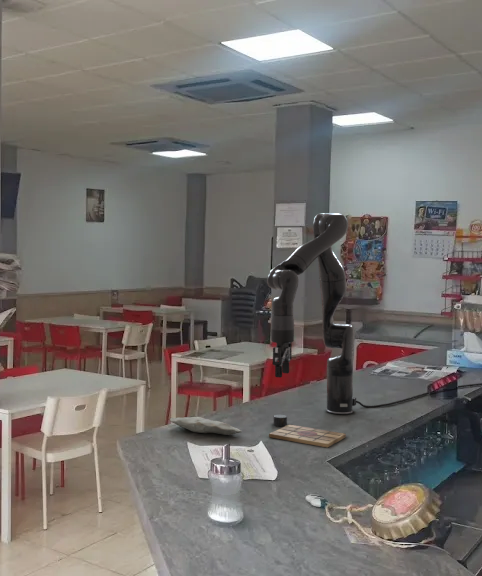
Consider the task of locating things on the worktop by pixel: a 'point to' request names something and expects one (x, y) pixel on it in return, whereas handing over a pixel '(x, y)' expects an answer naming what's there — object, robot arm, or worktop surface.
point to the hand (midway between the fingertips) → (282, 375)
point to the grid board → (308, 435)
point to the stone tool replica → (205, 425)
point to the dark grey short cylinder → (280, 420)
